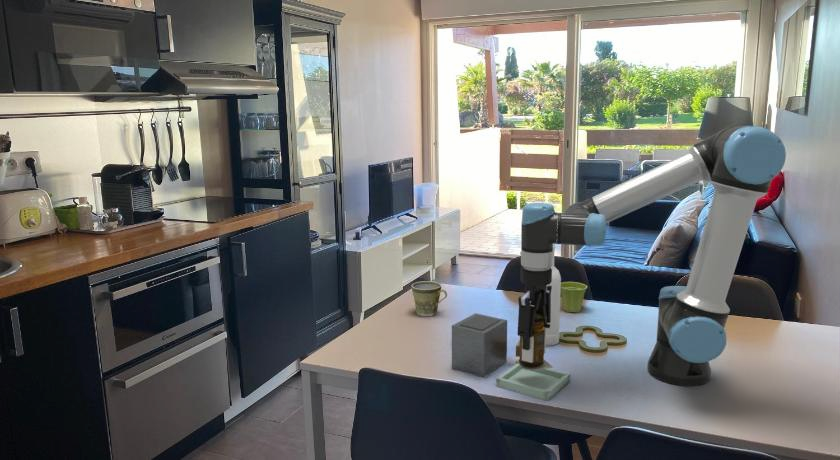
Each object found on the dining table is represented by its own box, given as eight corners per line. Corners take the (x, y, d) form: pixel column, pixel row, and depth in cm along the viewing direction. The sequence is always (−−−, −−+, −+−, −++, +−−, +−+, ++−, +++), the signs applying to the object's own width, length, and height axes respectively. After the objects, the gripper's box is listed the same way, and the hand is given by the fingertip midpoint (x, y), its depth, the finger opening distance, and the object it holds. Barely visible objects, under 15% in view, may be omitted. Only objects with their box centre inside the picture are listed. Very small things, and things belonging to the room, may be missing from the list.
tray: (569, 381, 159) (570, 374, 158) (547, 400, 149) (547, 393, 148) (520, 368, 167) (520, 361, 167) (496, 385, 157) (496, 378, 156)
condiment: (538, 355, 161) (540, 310, 159) (553, 368, 153) (554, 321, 151) (512, 358, 159) (513, 313, 157) (525, 371, 151) (526, 324, 149)
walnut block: (537, 358, 173) (537, 341, 172) (533, 365, 169) (534, 348, 168) (519, 356, 175) (520, 339, 174) (515, 363, 171) (515, 345, 170)
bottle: (536, 334, 191) (538, 238, 185) (561, 338, 187) (565, 240, 181) (528, 343, 184) (530, 244, 178) (555, 347, 180) (558, 246, 174)
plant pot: (568, 303, 219) (569, 280, 218) (591, 310, 213) (592, 285, 211) (552, 310, 213) (553, 285, 211) (575, 316, 206) (576, 291, 205)
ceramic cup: (406, 315, 210) (405, 286, 208) (422, 307, 218) (422, 279, 216) (438, 322, 203) (438, 292, 201) (454, 313, 211) (454, 285, 209)
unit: (506, 361, 171) (507, 319, 169) (484, 377, 162) (484, 332, 159) (474, 353, 177) (474, 312, 175) (450, 367, 168) (450, 324, 165)
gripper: (539, 257, 161) (537, 341, 166) (503, 273, 146) (501, 365, 151) (567, 261, 157) (563, 347, 162) (532, 278, 142) (529, 373, 147)
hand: (533, 356), depth 156 cm, fingers closed on condiment, 6 cm apart
